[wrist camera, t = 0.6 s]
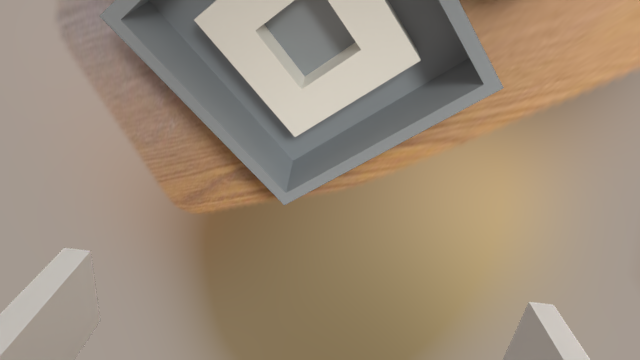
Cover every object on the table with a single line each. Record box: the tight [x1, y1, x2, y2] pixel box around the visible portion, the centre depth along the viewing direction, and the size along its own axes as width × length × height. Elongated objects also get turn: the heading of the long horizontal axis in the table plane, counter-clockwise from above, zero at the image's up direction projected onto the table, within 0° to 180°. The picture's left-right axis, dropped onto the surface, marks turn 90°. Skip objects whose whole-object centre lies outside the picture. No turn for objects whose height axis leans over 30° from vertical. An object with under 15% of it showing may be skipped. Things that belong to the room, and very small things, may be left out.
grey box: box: [100, 0, 503, 205], centre depth 32 cm, size 20×20×6 cm
